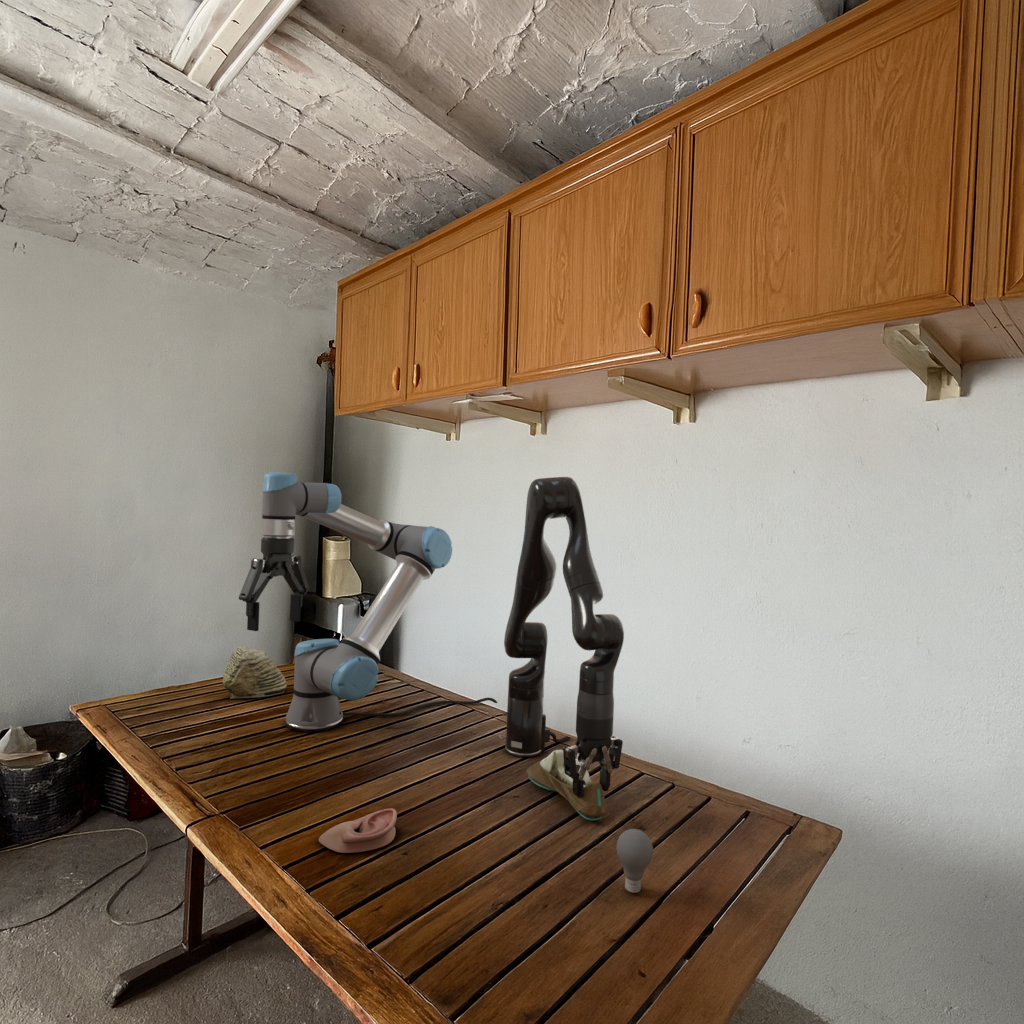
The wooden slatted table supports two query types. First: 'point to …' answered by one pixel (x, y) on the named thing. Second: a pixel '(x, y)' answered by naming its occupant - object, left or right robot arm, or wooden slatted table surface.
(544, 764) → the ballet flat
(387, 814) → the anatomical model
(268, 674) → the fossil
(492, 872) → the wooden slatted table surface
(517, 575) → the right robot arm
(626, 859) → the light bulb
